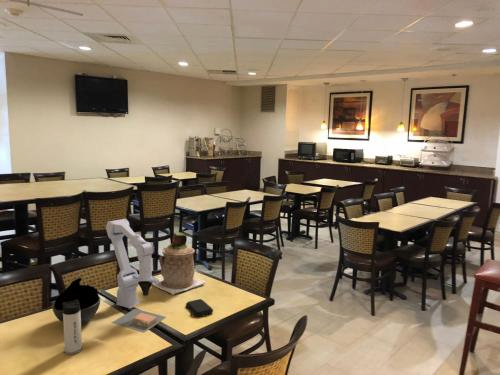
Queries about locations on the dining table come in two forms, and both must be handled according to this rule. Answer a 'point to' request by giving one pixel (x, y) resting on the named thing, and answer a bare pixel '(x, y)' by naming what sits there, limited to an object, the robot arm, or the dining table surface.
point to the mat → (127, 322)
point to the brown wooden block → (144, 320)
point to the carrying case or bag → (199, 308)
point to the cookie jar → (178, 267)
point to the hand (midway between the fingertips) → (145, 295)
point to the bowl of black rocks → (78, 300)
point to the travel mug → (72, 327)
